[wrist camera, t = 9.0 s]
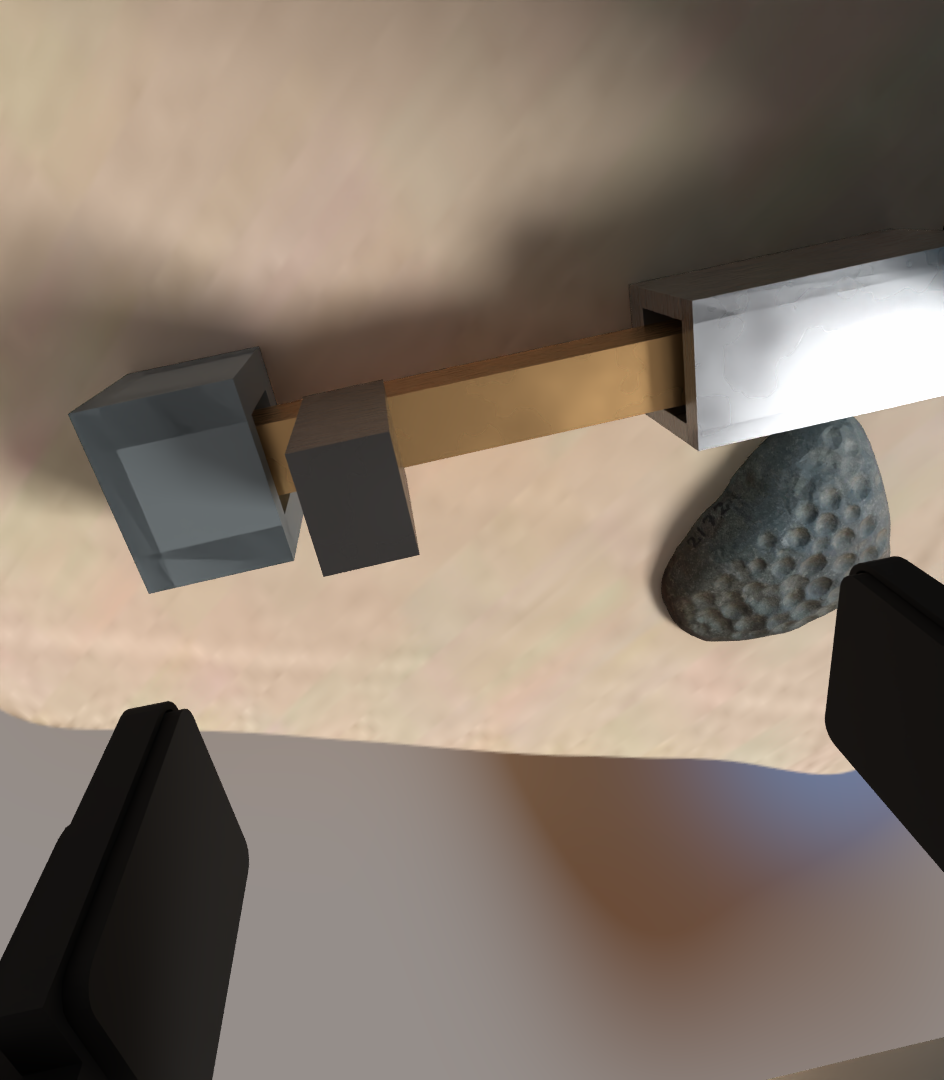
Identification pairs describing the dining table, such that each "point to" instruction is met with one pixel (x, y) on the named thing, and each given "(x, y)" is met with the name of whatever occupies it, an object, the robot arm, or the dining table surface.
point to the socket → (190, 469)
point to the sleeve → (803, 335)
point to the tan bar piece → (450, 429)
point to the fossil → (781, 536)
